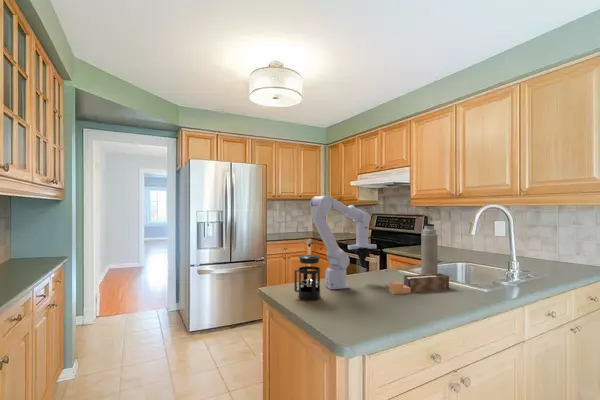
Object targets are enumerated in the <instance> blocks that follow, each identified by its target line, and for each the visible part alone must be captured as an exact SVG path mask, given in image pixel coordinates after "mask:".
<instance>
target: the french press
mask: <svg viewBox="0 0 600 400" xmlns="http://www.w3.org/2000/svg"><path fill="white" fill-rule="evenodd" d="M304 244H307V245H308V254H303V255H302V254H301V255H299V256H298V258H299V263H300V264H305V265H306V264H307V265H308V266H307V265H306V266H304V265H303V266H300V267H298V269H294V270H293V271H294V279H293V280H294V282H293V283H294V284H293V285H294V287H293V289H294V292H295V293H298V295H297V297H298V300H299V299H300V300H301V301H309V302H312V301H318V300H320V299H321V285H320V284H321V283H320V282H321V274H320V273H321V268H320V267H318V266H311V264H312V265H313V264H318V263H319V262H320V259H321V256H319V255H316V254H311V253H310V252H311V245H313V244H315V242H314V241H306V242H304ZM297 272H298V276H297ZM302 274H303V276H302ZM316 274H317V275H316ZM297 277H298V278H297ZM302 277H303V279H301V278H302ZM297 279H298V280H297ZM297 282H298V283H297ZM297 285H298V287H297ZM297 288H298V289H297Z"/></svg>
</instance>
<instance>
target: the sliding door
mask: <svg viewBox="0 0 600 400" xmlns="http://www.w3.org/2000/svg"><path fill="white" fill-rule="evenodd" d="M422 277H433V276H422ZM410 278H418V277H407V278H405V285H406V286H408V287H410Z"/></svg>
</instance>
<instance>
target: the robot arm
mask: <svg viewBox="0 0 600 400" xmlns="http://www.w3.org/2000/svg"><path fill="white" fill-rule="evenodd" d="M309 207H310V211H311V212H310V214H311V221H312V223H313V225H314V226H315V228H316V231H317V232H318V234H319V236H320V238H321V240H322V242H323V244H324V246H325V248H326V257H327V262H328V264H329V267H327V268H325V273H324V274H325V276H324V277H325V278H324V279H325V281H324V283H325V284H324V286H326V288H328V289H329V290H340V289H350V286H349V285H347V269H348V267H349V265H350V261H351V259H350V257H349V256H348V255H347V254H346V252H345V251H344V250H343V249H341V248H340V246H339V244H338V242H337V240H336V239H335V236H334V235H333V232H332V230H331V229H330V226H329V224H328V222H327V220H326V217H327V215H328V213H329V212H330V210H331V209H335V210H337V211H340V212H342V213H343V214H344V216H345V217H347V218H349V219H351V220H353V221H354V223H355V224H356V225H355V226H356V227H355V228H356V231H355V233H356V239H355V241H356V242H355V244H347V249H348V250H355V252H356V254H357V256H358V259H359V263H360V264H361V265H365V263H366V259H367V256H368V254H369V252H370V249H375V250H376V249H377V248H378V247H377V246H378V245H377V244H376V243H375V244H374V243H373V244H372V243H371V244H370V243H369V226H370V222H371V220H372V217H371V215H370V213H369V212H368V211H363V210H362V209H360V208H357V207H356V205H354V204H351V205H349V204H348V205H345V204H344V203H342V202H340V201H339V200H337V199H335V198H334V197H332V196H329V195H323V196H322V195H321V196H319V195H315V196H313V197H312V198H311V200H310V202H309Z"/></svg>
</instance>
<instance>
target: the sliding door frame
mask: <svg viewBox="0 0 600 400" xmlns="http://www.w3.org/2000/svg"><path fill="white" fill-rule="evenodd" d="M422 276H433V277H422ZM407 277H418V278H410V288H411V293H420V292H429V291H430V292H431V291H432V292H433V291H442V290H443V291H444V290H450V275H448V274H444V273H441V272H438V273H436V274H406V275H405V274H404V275H403V285H405V278H407Z"/></svg>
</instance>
